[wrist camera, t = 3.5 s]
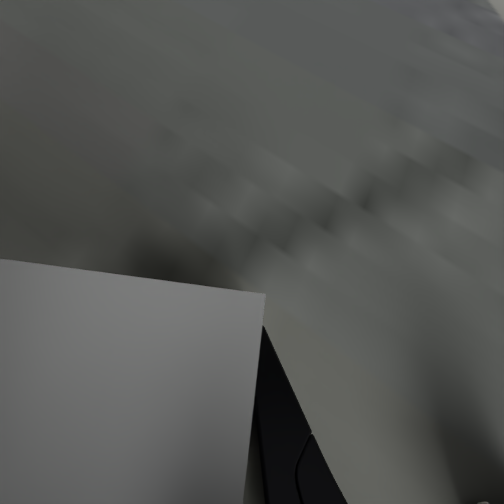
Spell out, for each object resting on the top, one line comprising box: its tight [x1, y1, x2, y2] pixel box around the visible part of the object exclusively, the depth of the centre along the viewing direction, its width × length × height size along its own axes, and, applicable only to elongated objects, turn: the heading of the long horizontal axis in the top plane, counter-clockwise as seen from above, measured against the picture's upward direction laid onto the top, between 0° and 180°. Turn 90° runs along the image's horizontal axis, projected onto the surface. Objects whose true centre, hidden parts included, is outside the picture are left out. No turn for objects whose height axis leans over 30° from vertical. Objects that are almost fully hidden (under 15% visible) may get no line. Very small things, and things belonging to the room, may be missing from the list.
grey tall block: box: [0, 259, 266, 504], centre depth 9 cm, size 4×4×11 cm
